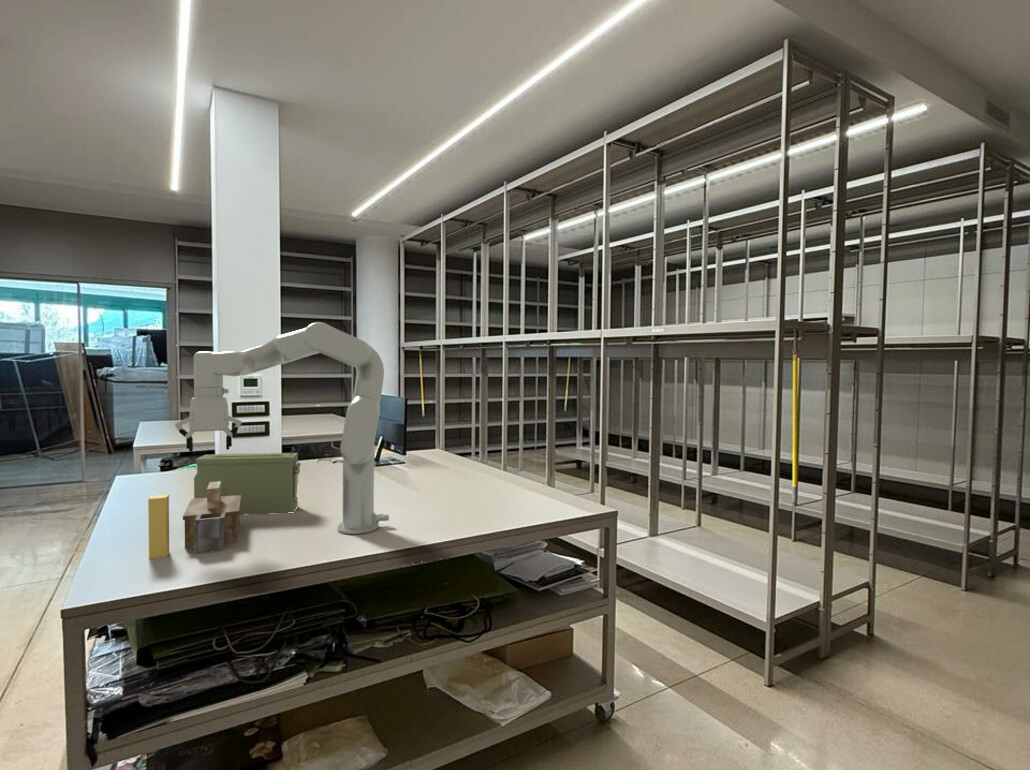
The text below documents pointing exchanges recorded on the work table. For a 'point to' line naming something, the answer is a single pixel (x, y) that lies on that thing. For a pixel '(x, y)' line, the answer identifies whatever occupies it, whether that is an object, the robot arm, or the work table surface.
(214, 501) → the lid
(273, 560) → the work table surface
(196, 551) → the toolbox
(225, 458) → the ammunition box
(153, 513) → the yellow rectangular block
